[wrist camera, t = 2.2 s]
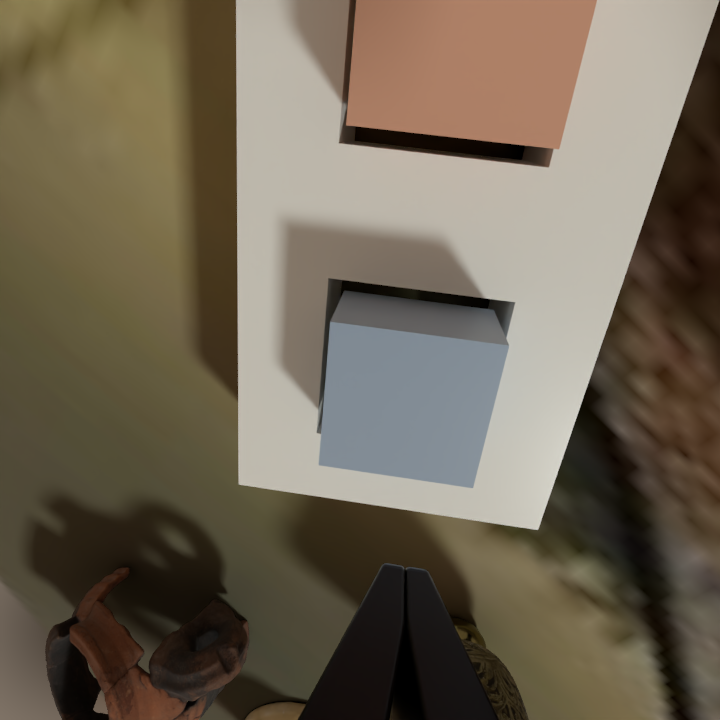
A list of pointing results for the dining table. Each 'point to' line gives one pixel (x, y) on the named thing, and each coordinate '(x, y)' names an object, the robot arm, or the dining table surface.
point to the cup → (491, 674)
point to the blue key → (410, 387)
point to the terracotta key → (468, 67)
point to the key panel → (440, 241)
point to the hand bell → (277, 711)
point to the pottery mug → (122, 653)
